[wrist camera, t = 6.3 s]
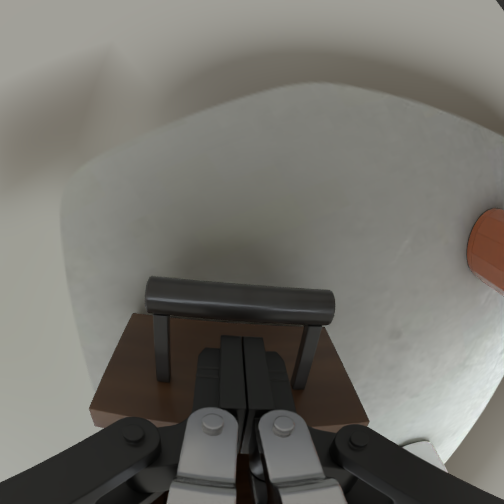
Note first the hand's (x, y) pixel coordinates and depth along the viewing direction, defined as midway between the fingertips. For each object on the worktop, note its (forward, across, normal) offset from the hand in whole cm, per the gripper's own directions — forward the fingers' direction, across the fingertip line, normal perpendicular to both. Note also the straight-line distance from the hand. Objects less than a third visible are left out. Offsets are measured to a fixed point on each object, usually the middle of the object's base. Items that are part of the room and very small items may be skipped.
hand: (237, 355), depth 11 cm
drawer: (+6, 0, +8) cm, 10 cm away
